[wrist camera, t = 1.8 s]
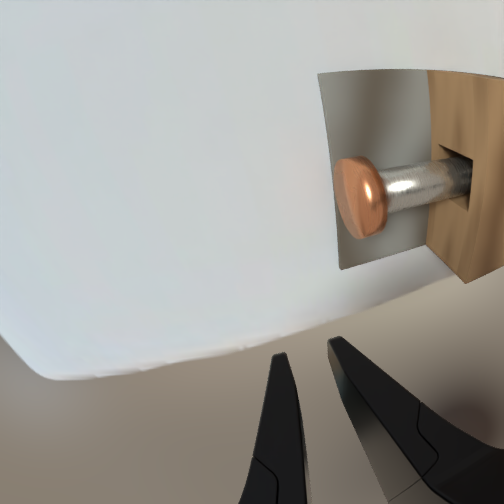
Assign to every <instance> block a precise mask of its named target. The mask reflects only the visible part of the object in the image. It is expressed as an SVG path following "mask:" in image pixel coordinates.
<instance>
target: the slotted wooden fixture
mask: <svg viewBox="0 0 504 504" xmlns="http://www.w3.org/2000/svg"><path fill="white" fill-rule="evenodd" d="M317 75H318V80H319V86H320V91H321V97H322V103H323V110H324V116H325V123H326V130H327V137H328V145H329V153H330V161H331V170H332V179H333V189H334V168H335V164H336V162H337V161H338V160H340V159H345V158H350V157H356V156H364V157H366V158H367V159H369V160H370V161H371V162H372V164H373V165H374V166H375V168H376V170H381V169H386V168H391V167H397V166H403V165H408V164H414V163H420V162H426V161H432V160H438V159H444V158H451V157H458V156H466V157H468V158H470V159H472V160H473V172H472V184H471V193H468V194H464V195H460V196H456V197H452V198H448V199H444V200H440V201H436V202H432V203H428V204H424V205H420V206H416V207H412V208H408V209H404V210H400V211H396V212H392V213H388V214H387V222H386V226H385V228H384V230H383V231H382V232H381V233H380V234H377V235H373V236H370V237H366V238H362V239H356V238H354V237H353V236H352V235H351V234H350V232H349V231H348V229H347V227H346V226H345V224H344V222H343V219H342V217H341V214H340V211H339V208H338V204H337V200H336V196H335V190H334V199H335V211H336V223H337V238H338V254H339V268H340V269H341V270H343V269H347V268H350V267H354V266H357V265H361V264H364V263H367V262H371V261H374V260H377V259H381V258H384V257H387V256H390V255H394V254H397V253H400V252H403V251H407V250H410V249H413V248H416V247H419V246H422V245H425V244H426V245H427V246H428V247H429V248H430V249H431V250H432V251H433V252H434V253H435V254H436V255H437V256H438V257H439V258H440V259H441V260H442V261H443V262H444V263H445V264H446V265H447V266H448V267H449V268H450V269H451V270H452V271H453V272H454V273H455V274H456V275H457V276H458V277H459V278H460V279H461V280H462V281H463V282H464V283H465V284H467V283H469V282H471V281H473V280H475V279H477V278H480V277H482V276H484V275H486V274H488V273H490V272H492V271H494V270H496V269H498V268H500V267H502V266H504V78H501V77H495V76H488V75H481V74H473V73H464V72H453V71H440V70H418V69H379V70H356V71H342V72H330V73H320V74H317Z"/></svg>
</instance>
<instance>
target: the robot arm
mask: <svg viewBox="0 0 504 504" xmlns="http://www.w3.org/2000/svg"><path fill="white" fill-rule="evenodd" d="M327 344H328V358H329V362H330V365H331V368H332V371H333V375H334V378H335V381H336V384H337V387H338V390H339V393H340V397H341V399H342V402H343V405H344V407H345V409H346V411H347V413H348V416H349V418H350V420H351V422H352V424H353V427H354V428H355V431H356V433H357V435H358V437H359V440H360V442H361V444H362V446H363V448H364V450H365V452H366V455H367V457H368V459H369V462H370V464H371V466H372V468H373V470H374V472H375V475H376V477H377V479H378V482H379V484H380V486H381V488H382V490H383V492H384V495H385V497H386V499H387V501H388V504H504V449H499V448H495V447H492V446H490V445H487V444H485V443H483V442H481V441H480V440H478V439H476V438H474V437H473V436H471V435H470V434H468V433H466V432H464V431H463V430H461V429H459V428H458V427H456V426H454V425H453V424H451V423H450V422H448V421H447V420H445V419H443V418H442V417H440V416H439V415H438V414H437V413H435V412H434V411H433V410H431V409H430V408H429V407H427V406H426V405H425V404H424V403H423V402H421V403H420V400H419V399H418V398H416V397H415V396H414V395H413V394H411V393H410V392H409V391H408V390H406V389H405V388H404V387H403V386H401V385H400V384H399V383H398V382H396V381H395V380H394V379H393V378H392V377H390V376H389V375H388V374H387V373H385V372H384V371H383V370H382V369H381V368H379V367H378V366H377V365H376V364H374V363H373V362H372V361H371V360H369V359H368V358H367V357H366V356H365V355H363V354H362V353H361V352H360V351H358V350H357V349H356V348H355V347H354V346H352V345H351V344H350V343H349V342H347V341H346V340H345V339H344V338H342V337H341V336H337V337H334V338H331V339H329V340H328V342H327ZM238 504H312V497H311V488H310V479H309V470H308V461H307V452H306V444H305V436H304V428H303V420H302V414H301V409H300V403H299V399H298V393H297V388H296V384H295V380H294V377H293V374H292V370H291V367H290V364H289V361H288V358H287V354H286V353H285V352H282V353H278V354H274V355H273V356H272V359H271V365H270V371H269V376H268V381H267V387H266V392H265V397H264V402H263V407H262V412H261V417H260V422H259V428H258V433H257V437H256V442H255V447H254V451H253V457H252V460H251V465H250V469H249V473H248V477H247V480H246V484H245V487H244V490H243V493H242V496H241V498H240V501H239V503H238Z"/></svg>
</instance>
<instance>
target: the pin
mask: <svg viewBox="0 0 504 504" xmlns="http://www.w3.org/2000/svg"><path fill="white" fill-rule="evenodd" d="M472 172H473V160H472V159H470V158H468V157H466V156H458V157H451V158H444V159H438V160H432V161H426V162H420V163H414V164H408V165H403V166H397V167H391V168H386V169H381V170H376V168H375V166H374V165H373V164H372V162H371V161H370V160H369V159H367V158H366V157H364V156H356V157H350V158H345V159H340V160H338V161H337V162H336V164H335V168H334V190H335V196H336V200H337V204H338V208H339V211H340V214H341V217H342V219H343V222H344V224H345V226H346V227H347V229H348V231H349V232H350V234H351V235H352V236H353V237H354V238H356V239H362V238H366V237H370V236H373V235H377V234H380V233H381V232H382V231H383V230H384V228H385V226H386V222H387V214H388V213H392V212H396V211H400V210H404V209H408V208H412V207H416V206H420V205H424V204H428V203H432V202H436V201H440V200H444V199H448V198H452V197H456V196H460V195H464V194H468V193H471V184H472Z"/></svg>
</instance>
